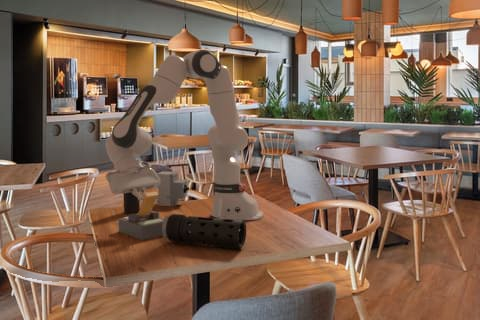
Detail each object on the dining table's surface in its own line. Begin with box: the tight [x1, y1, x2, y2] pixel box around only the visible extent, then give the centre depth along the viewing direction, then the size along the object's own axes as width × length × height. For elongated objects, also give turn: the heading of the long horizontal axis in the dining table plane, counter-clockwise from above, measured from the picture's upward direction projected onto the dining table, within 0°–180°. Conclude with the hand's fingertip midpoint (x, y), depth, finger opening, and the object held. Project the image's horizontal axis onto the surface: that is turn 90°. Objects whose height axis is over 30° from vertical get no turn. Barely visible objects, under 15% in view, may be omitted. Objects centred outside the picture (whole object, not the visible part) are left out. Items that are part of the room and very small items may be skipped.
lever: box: [136, 190, 159, 219], centre depth 190 cm, size 2×5×12 cm
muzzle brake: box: [162, 213, 247, 250], centre depth 177 cm, size 10×28×10 cm, turn 72°
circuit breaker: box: [156, 171, 190, 207], centre depth 241 cm, size 8×14×15 cm, turn 78°
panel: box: [118, 210, 165, 241], centre depth 193 cm, size 16×12×8 cm
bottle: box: [122, 191, 141, 215], centre depth 225 cm, size 7×7×20 cm
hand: (143, 198), depth 192 cm, fingers closed
